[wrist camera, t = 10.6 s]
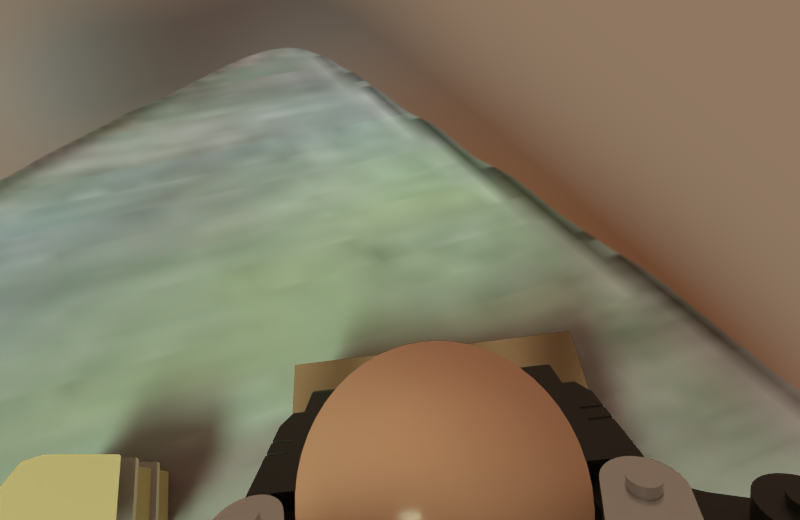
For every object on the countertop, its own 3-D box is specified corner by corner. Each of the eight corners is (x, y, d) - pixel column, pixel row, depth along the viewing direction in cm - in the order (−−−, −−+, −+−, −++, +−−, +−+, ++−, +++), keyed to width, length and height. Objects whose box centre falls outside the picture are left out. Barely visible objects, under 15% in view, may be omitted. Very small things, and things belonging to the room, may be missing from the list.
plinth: (553, 359, 28) (569, 331, 24) (649, 691, 20) (701, 738, 15) (318, 387, 29) (294, 365, 25) (312, 718, 20) (275, 769, 16)
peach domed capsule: (504, 417, 14) (547, 326, 8) (539, 585, 12) (646, 667, 5) (372, 431, 15) (301, 355, 8) (379, 599, 12) (285, 696, 6)
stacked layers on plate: (199, 415, 29) (150, 394, 25) (202, 567, 25) (142, 578, 20) (56, 460, 29) (-21, 448, 24) (31, 625, 24) (-71, 650, 19)
